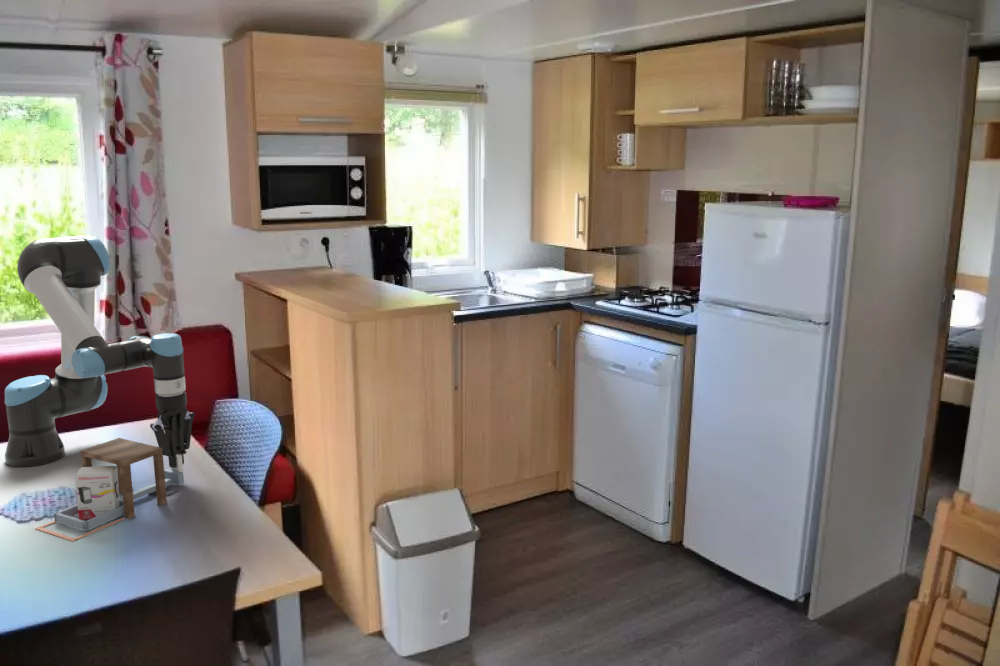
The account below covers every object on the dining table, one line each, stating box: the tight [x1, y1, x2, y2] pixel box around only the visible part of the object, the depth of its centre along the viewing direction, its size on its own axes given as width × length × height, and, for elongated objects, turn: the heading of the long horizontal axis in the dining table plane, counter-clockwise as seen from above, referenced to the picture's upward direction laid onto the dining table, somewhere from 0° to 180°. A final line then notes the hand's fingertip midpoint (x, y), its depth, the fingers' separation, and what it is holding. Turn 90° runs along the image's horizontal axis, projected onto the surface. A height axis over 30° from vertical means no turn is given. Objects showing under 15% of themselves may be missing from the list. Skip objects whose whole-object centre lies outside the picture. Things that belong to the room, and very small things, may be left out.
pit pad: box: [147, 487, 178, 498], centre depth 214 cm, size 9×5×1 cm, turn 62°
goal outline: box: [35, 516, 126, 542], centre depth 195 cm, size 14×14×1 cm
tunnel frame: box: [80, 437, 168, 520], centre depth 204 cm, size 16×11×15 cm
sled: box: [53, 468, 185, 532], centre depth 205 cm, size 11×31×3 cm, turn 152°
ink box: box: [74, 465, 120, 521], centre depth 198 cm, size 9×5×12 cm, turn 102°
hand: (177, 477), depth 219 cm, fingers closed
